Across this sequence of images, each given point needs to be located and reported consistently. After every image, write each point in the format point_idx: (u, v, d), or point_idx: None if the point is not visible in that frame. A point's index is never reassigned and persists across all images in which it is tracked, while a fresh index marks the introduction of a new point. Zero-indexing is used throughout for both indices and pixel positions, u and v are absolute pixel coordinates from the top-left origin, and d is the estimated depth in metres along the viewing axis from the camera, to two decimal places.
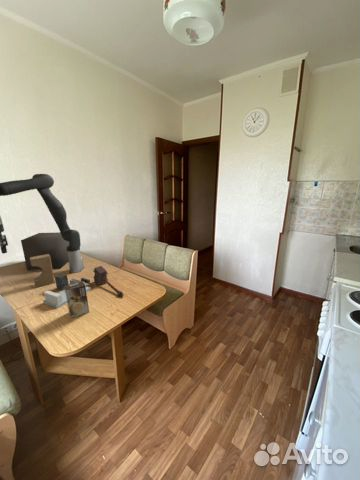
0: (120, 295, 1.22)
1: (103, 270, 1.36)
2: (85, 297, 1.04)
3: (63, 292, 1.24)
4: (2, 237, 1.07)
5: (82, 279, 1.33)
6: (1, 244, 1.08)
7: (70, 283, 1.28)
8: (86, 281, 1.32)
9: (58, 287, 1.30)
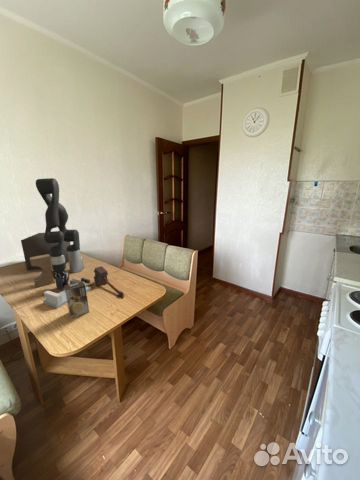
0: (121, 295, 1.22)
1: (103, 270, 1.36)
2: (85, 297, 1.04)
3: (63, 292, 1.24)
4: (66, 275, 1.27)
5: (82, 279, 1.33)
6: (64, 280, 1.27)
7: (70, 283, 1.28)
8: (86, 281, 1.32)
9: (58, 287, 1.30)
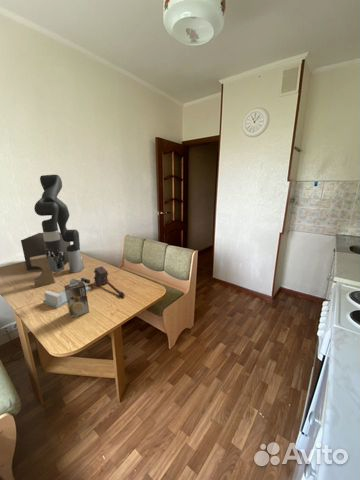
0: (121, 295, 1.21)
1: (104, 270, 1.35)
2: (85, 297, 1.04)
3: (63, 292, 1.24)
4: (61, 254, 1.09)
5: (82, 279, 1.33)
6: (59, 260, 1.10)
7: (70, 283, 1.28)
8: (86, 281, 1.32)
9: (52, 268, 1.12)
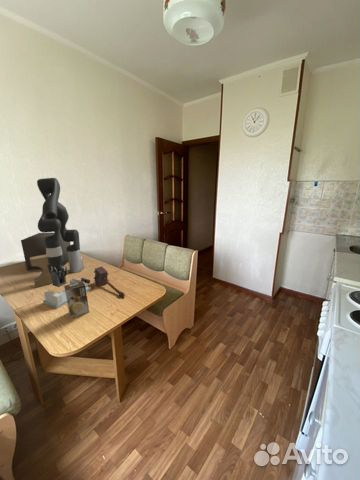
0: (121, 296, 1.21)
1: (104, 271, 1.35)
2: (85, 297, 1.04)
3: (63, 292, 1.24)
4: (64, 269, 1.11)
5: (82, 279, 1.33)
6: (61, 275, 1.12)
7: (70, 283, 1.28)
8: (86, 281, 1.32)
9: (54, 283, 1.15)
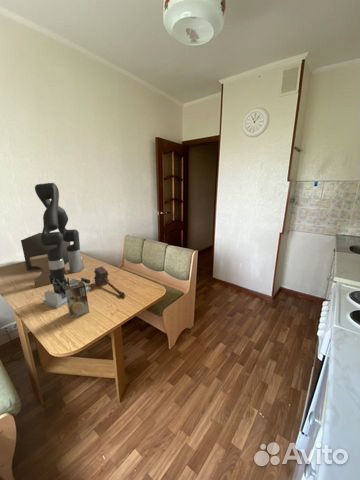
0: (122, 296, 1.21)
1: (104, 271, 1.35)
2: (85, 297, 1.04)
3: None
4: (66, 280, 1.13)
5: (82, 279, 1.33)
6: None
7: (70, 283, 1.28)
8: (86, 281, 1.32)
9: None
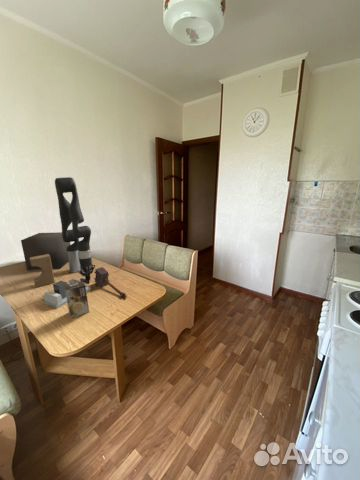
0: (123, 296, 1.20)
1: (104, 271, 1.34)
2: (85, 297, 1.04)
3: None
4: (79, 272, 1.28)
5: (81, 279, 1.33)
6: None
7: (69, 283, 1.28)
8: (85, 281, 1.32)
9: None
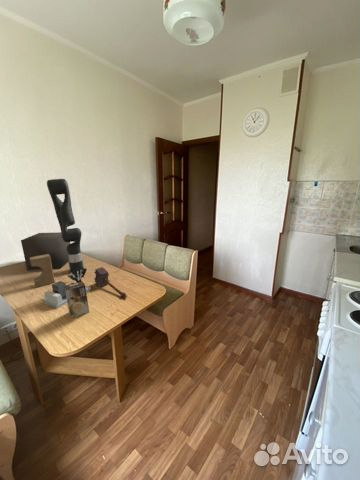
0: (123, 296, 1.20)
1: (104, 271, 1.34)
2: (85, 297, 1.04)
3: None
4: (69, 277, 1.22)
5: None
6: None
7: None
8: None
9: None
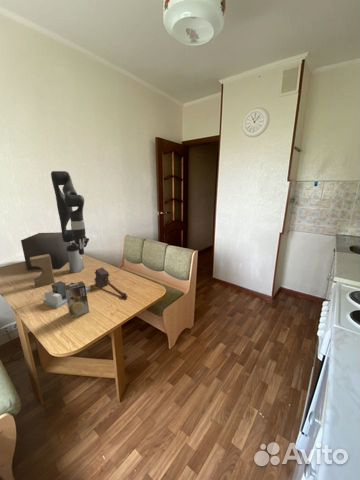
0: (124, 297, 1.20)
1: (105, 272, 1.34)
2: (85, 297, 1.04)
3: None
4: (71, 244, 1.22)
5: None
6: None
7: None
8: None
9: None
